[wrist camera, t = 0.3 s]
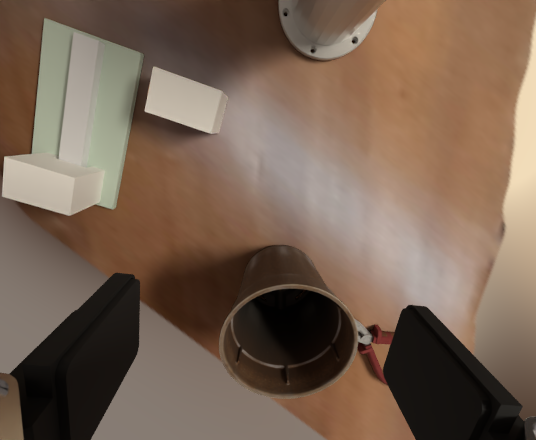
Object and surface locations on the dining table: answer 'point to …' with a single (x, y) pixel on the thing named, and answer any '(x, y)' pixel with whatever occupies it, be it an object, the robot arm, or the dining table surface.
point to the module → (185, 101)
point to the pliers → (365, 346)
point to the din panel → (106, 108)
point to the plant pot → (286, 328)
